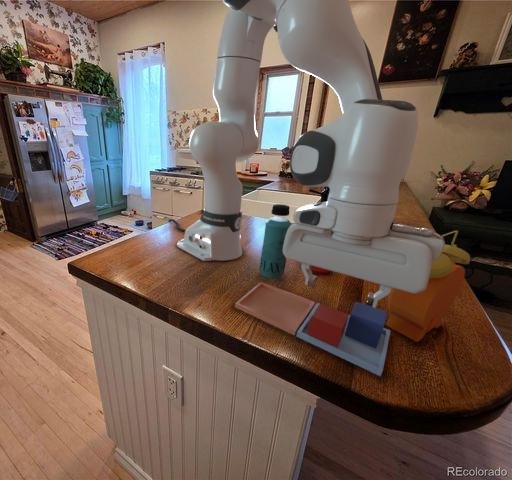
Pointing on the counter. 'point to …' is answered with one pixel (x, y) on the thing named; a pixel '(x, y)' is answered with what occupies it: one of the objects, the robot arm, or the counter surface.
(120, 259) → the counter surface
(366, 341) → the blue block
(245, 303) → the pink tray
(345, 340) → the blue tray
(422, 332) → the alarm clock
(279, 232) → the beverage bottle
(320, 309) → the red block
